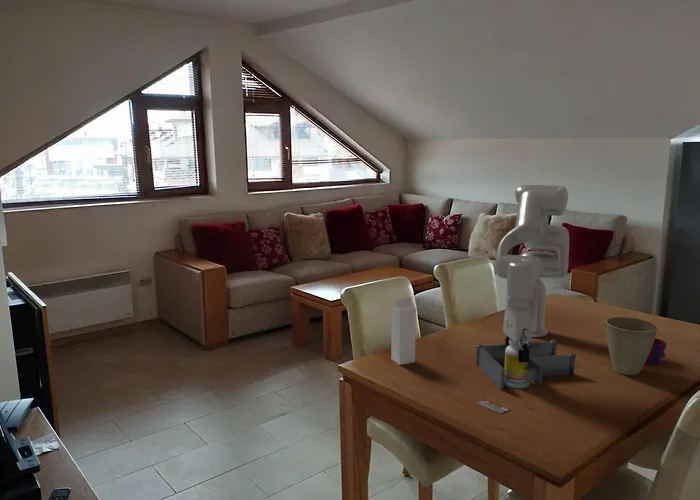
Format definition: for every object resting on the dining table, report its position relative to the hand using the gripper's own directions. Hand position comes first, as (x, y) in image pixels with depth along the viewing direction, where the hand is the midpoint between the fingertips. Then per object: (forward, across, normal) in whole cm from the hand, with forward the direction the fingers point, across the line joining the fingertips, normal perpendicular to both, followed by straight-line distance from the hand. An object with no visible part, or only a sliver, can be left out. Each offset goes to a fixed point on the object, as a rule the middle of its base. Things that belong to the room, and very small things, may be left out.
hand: (516, 355), depth 178 cm
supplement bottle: (+8, 0, 0) cm, 8 cm away
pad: (+9, 0, 0) cm, 9 cm away
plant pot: (+9, -2, +39) cm, 40 cm away
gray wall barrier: (+9, -5, +7) cm, 12 cm away
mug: (+9, -10, +52) cm, 54 cm away
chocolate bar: (+9, +15, -13) cm, 22 cm away
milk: (+9, -22, -30) cm, 39 cm away
